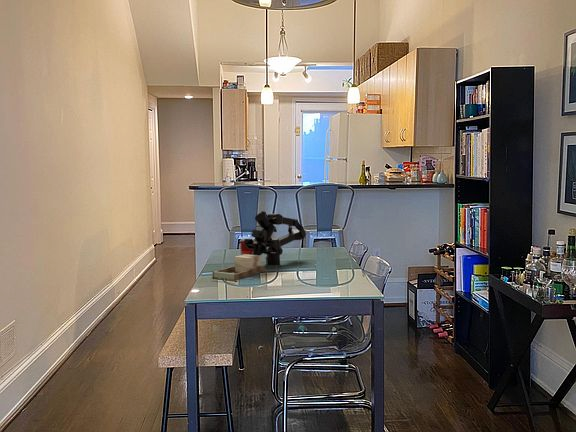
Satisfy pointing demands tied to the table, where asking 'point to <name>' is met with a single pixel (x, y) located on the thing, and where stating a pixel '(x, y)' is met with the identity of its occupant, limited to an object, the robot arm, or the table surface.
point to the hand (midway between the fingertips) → (254, 258)
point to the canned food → (244, 249)
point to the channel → (241, 274)
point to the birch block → (247, 262)
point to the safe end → (224, 276)
